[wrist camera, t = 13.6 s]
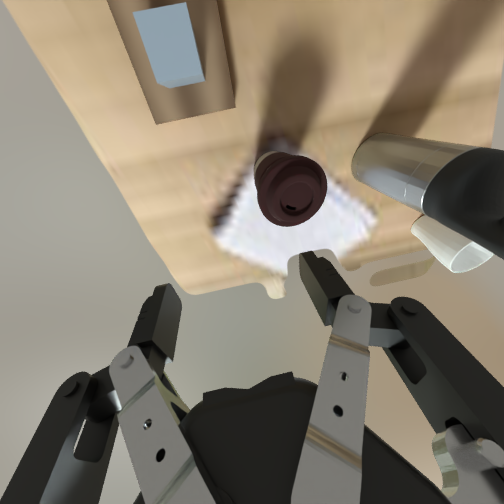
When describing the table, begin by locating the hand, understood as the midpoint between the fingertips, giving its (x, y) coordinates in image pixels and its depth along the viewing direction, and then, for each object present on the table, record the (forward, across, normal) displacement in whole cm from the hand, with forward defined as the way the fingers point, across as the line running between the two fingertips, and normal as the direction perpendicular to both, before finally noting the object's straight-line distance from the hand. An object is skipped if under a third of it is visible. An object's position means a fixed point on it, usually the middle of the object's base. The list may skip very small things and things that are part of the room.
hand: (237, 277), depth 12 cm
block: (+27, +2, -14) cm, 31 cm away
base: (+30, +2, -14) cm, 33 cm away
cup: (+30, -48, +25) cm, 62 cm away
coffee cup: (+30, -9, +3) cm, 32 cm away
